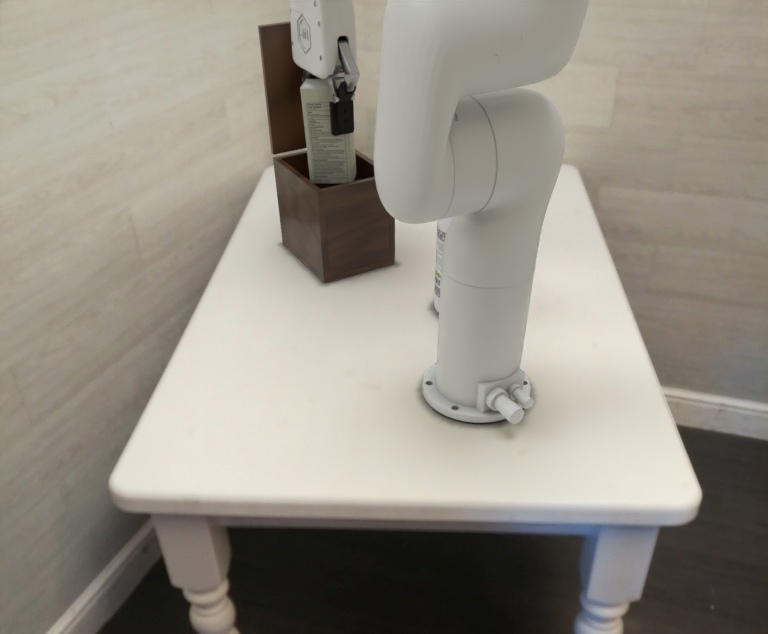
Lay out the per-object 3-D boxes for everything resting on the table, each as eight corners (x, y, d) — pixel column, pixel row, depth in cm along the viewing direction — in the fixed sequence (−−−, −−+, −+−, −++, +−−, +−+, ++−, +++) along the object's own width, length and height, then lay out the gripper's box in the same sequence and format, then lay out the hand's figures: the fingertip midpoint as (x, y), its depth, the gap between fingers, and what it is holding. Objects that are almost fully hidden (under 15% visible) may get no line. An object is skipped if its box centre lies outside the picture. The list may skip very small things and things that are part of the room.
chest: (395, 264, 108) (395, 174, 99) (324, 283, 104) (317, 192, 95) (349, 227, 117) (345, 142, 108) (282, 243, 113) (272, 157, 104)
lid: (342, 15, 96) (325, 7, 99) (260, 26, 92) (244, 17, 95) (346, 140, 107) (330, 128, 110) (273, 154, 103) (259, 142, 106)
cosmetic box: (357, 173, 104) (353, 77, 95) (353, 185, 101) (349, 87, 92) (312, 172, 104) (305, 76, 96) (307, 184, 101) (299, 86, 92)
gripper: (262, -46, 89) (278, 112, 102) (324, -24, 78) (334, 150, 91) (317, -52, 91) (326, 104, 104) (384, -31, 81) (385, 139, 93)
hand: (329, 124), depth 97 cm, fingers closed on cosmetic box, 6 cm apart
